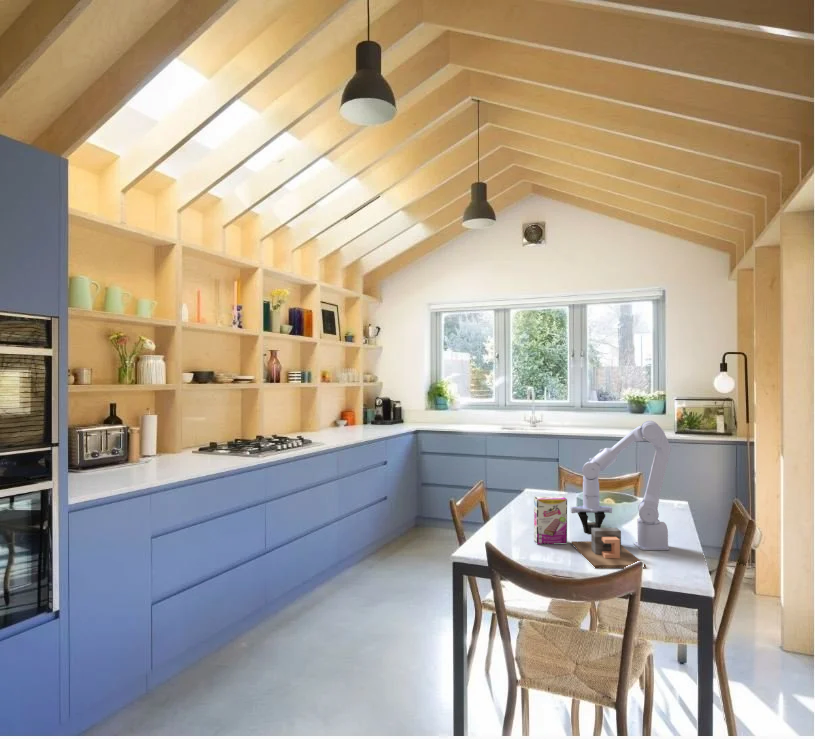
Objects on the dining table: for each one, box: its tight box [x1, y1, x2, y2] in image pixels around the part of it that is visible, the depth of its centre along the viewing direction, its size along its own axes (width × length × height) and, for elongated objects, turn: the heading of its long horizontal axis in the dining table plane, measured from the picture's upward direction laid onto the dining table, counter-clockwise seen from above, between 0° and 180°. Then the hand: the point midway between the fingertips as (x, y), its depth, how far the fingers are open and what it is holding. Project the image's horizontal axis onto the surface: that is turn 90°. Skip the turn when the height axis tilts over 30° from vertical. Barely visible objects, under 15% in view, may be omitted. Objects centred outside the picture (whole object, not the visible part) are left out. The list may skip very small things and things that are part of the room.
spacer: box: [601, 537, 620, 558], centre depth 189 cm, size 6×4×5 cm
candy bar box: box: [533, 496, 568, 545], centre depth 208 cm, size 11×5×16 cm, turn 92°
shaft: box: [586, 521, 608, 544], centre depth 202 cm, size 4×17×4 cm, turn 0°
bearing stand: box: [571, 527, 647, 569], centre depth 193 cm, size 16×26×9 cm, turn 0°
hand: (591, 532), depth 209 cm, fingers closed on shaft, 4 cm apart
